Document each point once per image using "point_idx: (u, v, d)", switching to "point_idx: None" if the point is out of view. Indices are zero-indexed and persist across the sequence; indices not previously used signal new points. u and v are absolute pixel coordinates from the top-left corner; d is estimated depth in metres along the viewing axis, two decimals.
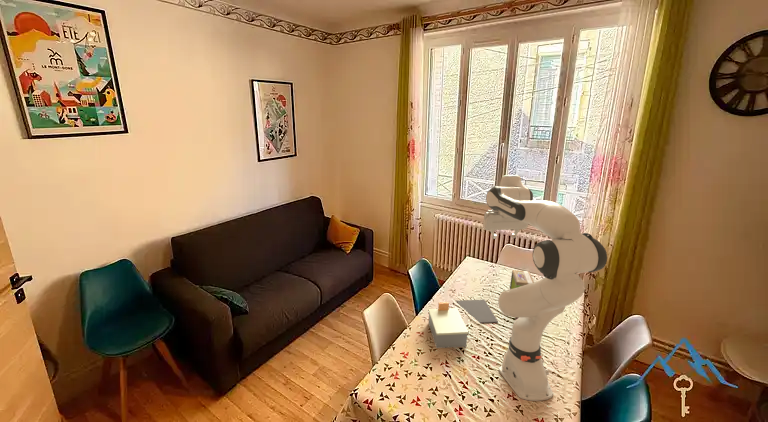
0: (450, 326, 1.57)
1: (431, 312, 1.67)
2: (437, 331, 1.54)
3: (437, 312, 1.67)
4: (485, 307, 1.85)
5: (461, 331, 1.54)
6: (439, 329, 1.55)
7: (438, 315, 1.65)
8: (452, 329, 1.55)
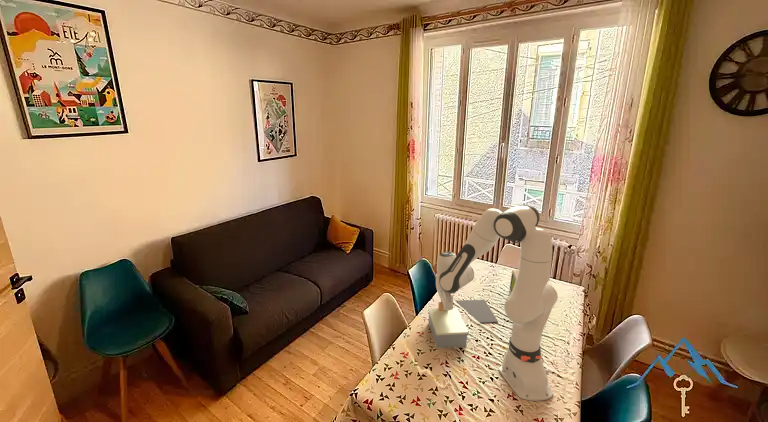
0: (450, 326, 1.57)
1: (431, 312, 1.67)
2: (437, 331, 1.53)
3: (437, 312, 1.67)
4: (485, 307, 1.85)
5: (461, 331, 1.54)
6: (439, 329, 1.55)
7: (438, 315, 1.65)
8: (452, 329, 1.55)
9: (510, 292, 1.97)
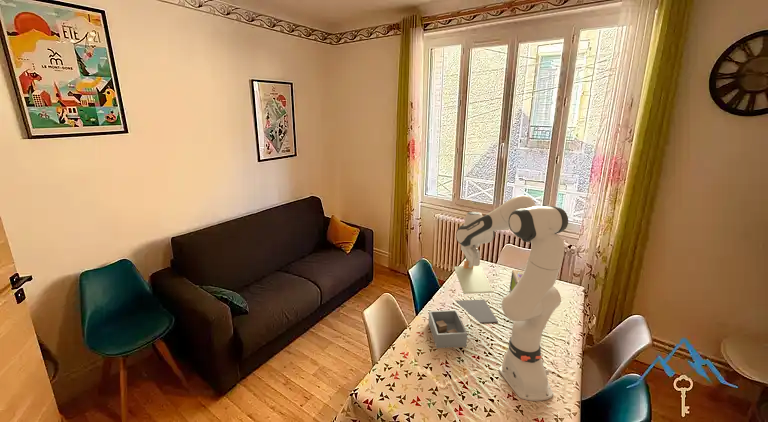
0: (476, 285, 1.69)
1: (457, 270, 1.77)
2: (464, 290, 1.65)
3: (463, 270, 1.78)
4: (485, 307, 1.85)
5: (486, 290, 1.66)
6: (466, 288, 1.67)
7: (464, 273, 1.75)
8: (478, 288, 1.67)
9: None
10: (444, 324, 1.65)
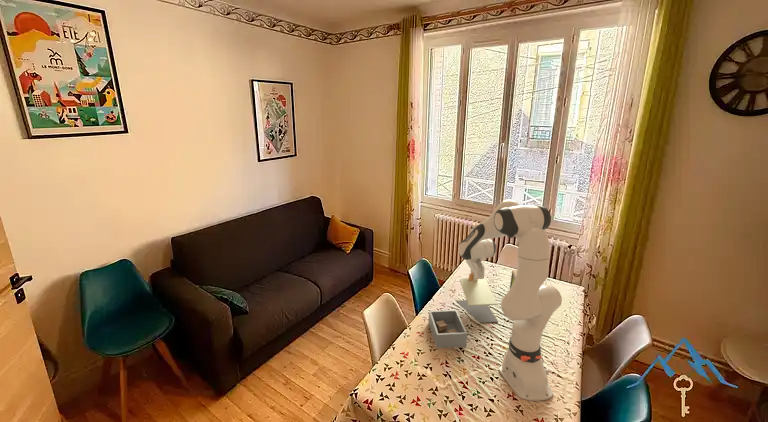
0: (480, 297, 1.76)
1: (462, 282, 1.85)
2: (469, 302, 1.73)
3: (468, 282, 1.85)
4: (485, 307, 1.85)
5: (490, 303, 1.73)
6: (471, 300, 1.74)
7: (469, 285, 1.83)
8: (482, 300, 1.74)
9: None
10: (444, 324, 1.65)
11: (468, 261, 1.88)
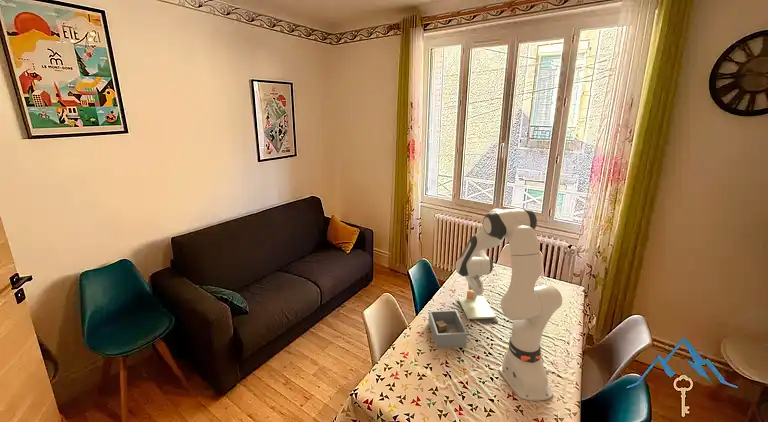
0: (479, 311, 1.78)
1: (461, 300, 1.88)
2: (468, 315, 1.75)
3: (466, 300, 1.88)
4: None
5: (489, 315, 1.75)
6: (470, 314, 1.76)
7: (467, 302, 1.86)
8: (481, 314, 1.76)
9: None
10: (444, 324, 1.65)
11: (467, 276, 1.92)
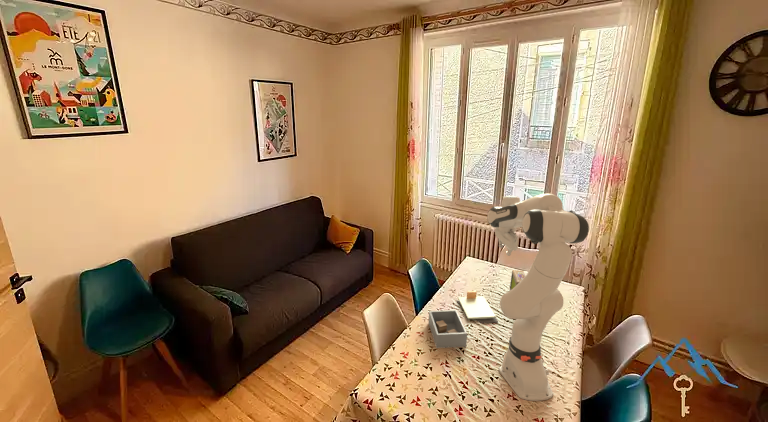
0: (479, 311, 1.78)
1: (461, 300, 1.88)
2: (468, 315, 1.75)
3: (466, 300, 1.88)
4: None
5: (489, 315, 1.75)
6: (470, 314, 1.76)
7: (467, 302, 1.86)
8: (481, 314, 1.76)
9: None
10: (444, 324, 1.65)
11: (498, 234, 1.78)
